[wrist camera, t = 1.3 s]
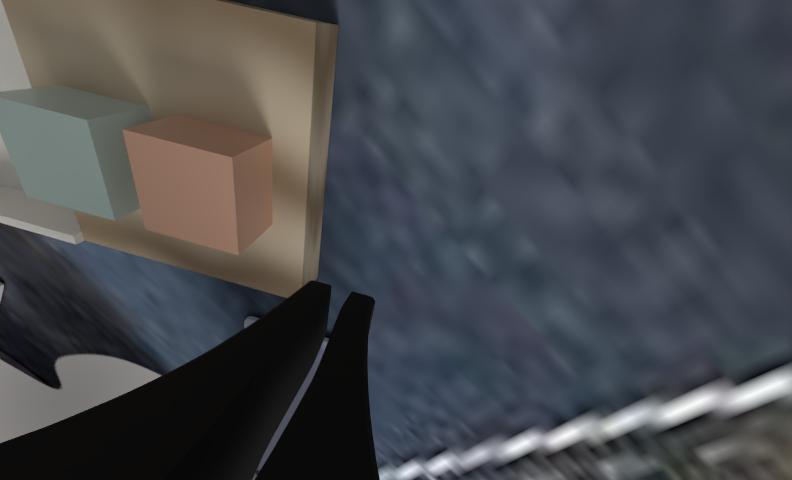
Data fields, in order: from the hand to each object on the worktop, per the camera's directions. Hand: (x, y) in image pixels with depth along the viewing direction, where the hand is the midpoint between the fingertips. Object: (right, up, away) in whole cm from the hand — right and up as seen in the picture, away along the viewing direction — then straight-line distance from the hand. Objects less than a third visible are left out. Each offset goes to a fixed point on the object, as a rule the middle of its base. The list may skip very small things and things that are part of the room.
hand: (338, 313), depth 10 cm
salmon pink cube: (-6, +5, +6) cm, 11 cm away
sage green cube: (-12, +7, +7) cm, 16 cm away
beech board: (-9, +7, +9) cm, 14 cm away
